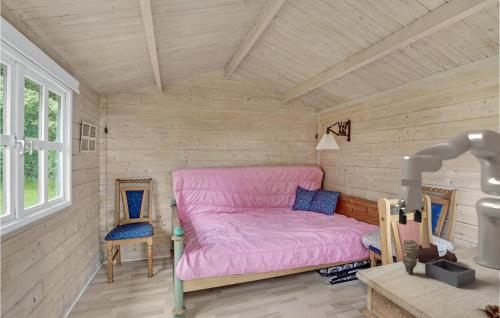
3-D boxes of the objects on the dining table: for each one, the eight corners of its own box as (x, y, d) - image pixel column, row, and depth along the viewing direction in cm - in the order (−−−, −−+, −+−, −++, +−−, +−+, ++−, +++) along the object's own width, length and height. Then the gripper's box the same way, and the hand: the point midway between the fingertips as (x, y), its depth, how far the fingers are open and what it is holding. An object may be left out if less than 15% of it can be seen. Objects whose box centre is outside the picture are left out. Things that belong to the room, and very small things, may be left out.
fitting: (442, 269, 118) (442, 258, 118) (475, 282, 107) (475, 269, 107) (425, 274, 114) (425, 263, 113) (457, 287, 102) (457, 275, 102)
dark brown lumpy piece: (460, 264, 121) (456, 242, 122) (420, 267, 125) (416, 247, 125) (453, 259, 127) (449, 238, 128) (415, 262, 131) (411, 242, 131)
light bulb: (420, 276, 112) (421, 241, 112) (410, 278, 110) (411, 242, 110) (409, 270, 117) (409, 237, 117) (399, 272, 116) (400, 238, 116)
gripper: (415, 182, 120) (415, 219, 120) (389, 183, 113) (388, 222, 113) (432, 184, 113) (431, 223, 113) (405, 185, 106) (404, 227, 107)
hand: (410, 223), depth 113 cm, fingers open, 9 cm apart
